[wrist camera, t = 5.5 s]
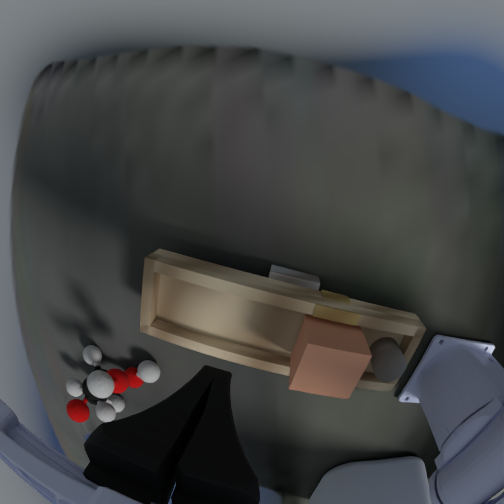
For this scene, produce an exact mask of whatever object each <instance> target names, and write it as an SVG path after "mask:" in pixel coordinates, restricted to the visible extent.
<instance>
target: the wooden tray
mask: <svg viewBox="0 0 504 504" xmlns="http://www.w3.org/2000/svg"><path fill="white" fill-rule="evenodd" d="M319 287H320V280H319V276H315V275H311V274H307V273H303V272H300V271H296V270H292V269H288V268H284V267H280V266H276V265H272V266H271V270H270V274H269V278H267V277H263V276H259V275H255V274H251V273H248V272H244V271H240V270H236V269H233V268H229V267H225V266H221V265H218V264H214V263H210V262H207V261H203V260H199V259H196V258H192V257H188V256H185V255H181V254H178V253H174V252H170V251H167V250H163V249H158V250H157V251H155V252H153V253H151V254H150V255H148V256H146V257H145V260H144V271H143V283H142V299H141V320H140V331H141V332H144V333H146V334H149V335H152V336H154V337H157V338H160V339H163V340H165V341H168V342H171V343H174V344H177V345H180V346H183V347H186V348H189V349H192V350H195V351H198V352H201V353H204V354H208V355H211V356H214V357H218V358H221V359H224V360H228V361H231V362H235V363H239V364H242V365H246V366H250V367H254V368H258V369H262V370H266V371H270V372H274V373H279V374H283V375H288V376H289V377H290V357H291V353H292V350H293V347H294V345H295V342H296V339H297V337H298V334H299V331H300V328H301V325H302V323H303V320H304V317H305V314H310V315H313V316H314V317H318V318H322V319H327V320H331V321H336V322H340V323H345V324H349V325H354V326H356V325H358V326H361V329H362V331H363V334H364V336H365V339H366V341H367V344H368V347H369V349H370V352H371V354H372V357H371V359H370V361H369V363H368V365H367V367H366V369H365V370H364V372H363V374H362V376H361V378H360V379H359V381H358V383H357V385H356V387H355V388H362V389H370V390H378V391H387V392H391V391H392V390H393V388H394V387H395V385H396V383H397V382H398V380H399V378H400V377H401V375H402V374H403V373H404V372H405V370H406V368H407V365H408V363H409V361H410V360H411V358H412V356H413V354H414V352H415V350H416V349H417V347H418V345H419V343H420V341H421V339H422V337H423V335H424V333H425V331H426V329H427V328H426V327H425V326H424V324H423V323H422V322H421V320H420V319H419V318H418V316H417V315H416V314H415V313H411V312H406V311H402V310H397V309H393V308H389V307H384V306H380V305H376V304H372V303H367V302H363V301H359V300H355V299H351V298H349V297H348V296H346V295H342V294H338V293H333V292H329V291H325V290H321V291H318V290H319Z"/></svg>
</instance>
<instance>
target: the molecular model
mask: <svg viewBox="0 0 504 504" xmlns="http://www.w3.org/2000/svg"><path fill="white" fill-rule="evenodd" d="M83 358H84V360H85V361H86V362H87V363H88V364H90V365H94V368H95V371H93V372H92V373H91V374H90V375H89V376H88V378H86V379H85V380H84V382H83V384H82V383H81V382H80V381H79V380H77V379H73V378H72V379H70V380H68V381H67V384H66V389H67V391H68V393H69V394H70V395H72V396H74V397H78V396H80V395H81V394H82V393H83V394H85V398H84V399H83V401H81V400H79V399H73V400H71V401H69V403H68V404H67V413H68V415H69V417H70V418H71V419H72V420H74V421H76V422H84V421H86V420H87V419H88V418H89V414H90V412H89V408H88V406H87V405H86V403H87V401H88V402H90V403H91V404H94V405H97V404H98V405H97V407H96V415H97V416H98V418H99V419H100V420H102V421H104V422H110V421H112V420H114V418H115V416H116V412H121V411H122V410H123V409H124V407H125V403H124V400H123V399H122V398H121V397H120V396H118V395H111V394H112V393H122V392H124V391H125V390H126V389H127V387H128V386H129V387H131V388H138V387H140V386H141V385H142V384H143V382H144V381H145V382H148V383H152V382H155V381H156V380H157V379H158V378H159V376H160V369H159V366H158V365H157V364H156V363H155V362H153V361H150V360H145V361H143V362H141V363H140V364H139V366H138V368H135V367H130V368H128V369H127V370H125V372H123V371H122V370H120V369H110V370H109V371H107V370H104V369H101V366H100V364H99V363H100V362H101V359H102V353H101V351H100V349H99V348H98V347H96V346H94V345H89V346H87V347H85V349H84V351H83ZM110 395H111V396H110ZM109 396H110V397H109ZM108 397H109V398H108Z"/></svg>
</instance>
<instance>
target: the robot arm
mask: <svg viewBox="0 0 504 504" xmlns="http://www.w3.org/2000/svg"><path fill="white" fill-rule="evenodd" d="M440 340H442V341H441V342H440ZM494 348H495V346H494V345H493V344H491V343H484V342H478V341H472V340H466V339H460V338H454V337H448V336H443V335H436V336H434V337H433V339H432V341H431V342H430V344H429V346H428V348H427V350H426V352H425V354H424V355H423V357H422V359H421V361H420V363H419V364H418V366H417V368H416V369H415V371H414V373H413V374H412V376H411V378H410V379H409V381H408V383H407V384H406V386H405V387H404V389H403V390H402V392H401V393H400V395H399V397H398V400H399V401H400V402H412V403H420V404H421V406H422V409H423V411H424V413H425V416H426V418H427V420H428V423H429V425H430V428H431V430H432V433H433V435H434V438H435V440H436V443H437V445H438V448H439V451H440V454H439V456H438V457H437V458H436V459H435V463H436V466H437V470H436V471H435V472H434V473H433V474H432V476H431V479H430V483H429V494H430V499H431V502H432V504H504V492H503V493H502V494H501V495H500V496H498V497H497V498H495V499H493V500H489V499H491V498H492V497H493V496H494V495H496V494H497V493H498V492H500V491H501V490H502V489H503V488H504V369H503V368H502V366H501V365H500V364H499V363H498V362H497V361H496V359H495V358H494V357H493V356H492V355H491V354H492V352H493V350H494ZM231 377H232V374H231V373H230V372H228V371H224V370H221V369H217V368H214V367H211V366H207V365H205V366H203V367H202V369H201V370H200V371H199V372H198V373H197V374H196V375H195V376H194V377H193V378H192V379H191V380H190V381H189V382H187V383H186V384H185V385H184V386H183V387H182V388H180V389H179V390H178V391H176V392H175V393H174V394H172V395H171V396H169V397H168V398H166V399H165V400H163V401H162V402H160V403H158V404H156V405H154V406H153V407H151V408H148V409H146V410H144V411H142V412H140V413H137V414H135V415H132V416H129V417H126V418H123V419H120V420H116V421H111V422H107V423H102V424H101V425H100V426H98V427H97V428H96V429H95V430H94V431H93V432H92V434H91V435H90V436H89V438H88V439H87V440H86V442H85V443H84V447H85V451H86V453H87V455H88V457H89V460H90V463H89V464H88V466H87V467H86V469H84V468H82V467H80V466H79V465H77V464H76V463H74V462H72V461H71V460H69V459H68V458H66V457H65V456H63V455H62V454H60V453H59V452H57V451H56V450H54V449H53V448H52V447H50V446H49V445H48V444H46V443H45V442H44V441H42V440H41V439H39V438H38V437H37V436H36V435H34V434H33V433H32V432H31V431H29V430H28V429H27V428H26V427H25V426H23V425H22V424H21V423H20V422H19V421H18V419H17V416H16V415H15V413H14V412H13V411H12V410H11V409H10V408H9V407H8V406H7V405H6V404H5V403H4V402H3V401H2V400H1V399H0V458H1V459H2V460H3V461H4V462H5V463H6V464H7V465H8V466H9V467H10V468H11V469H12V470H13V471H14V472H15V473H16V474H17V475H19V476H20V477H21V478H22V479H23V480H24V481H25V482H27V483H28V484H29V485H30V486H31V487H32V488H34V489H35V490H36V491H37V492H38V493H40V494H41V495H42V496H44V497H45V498H46V499H47V500H49V501H50V502H52V503H53V504H168V502H169V499H170V496H171V493H172V491H173V488H174V485H175V482H176V487H175V489H174V491H173V494H172V496H171V499H172V504H259V501H260V492H259V491H260V490H259V484H258V480H257V477H256V475H255V473H254V472H253V470H252V468H251V466H250V465H249V463H248V461H247V459H246V457H245V454H244V452H243V449H242V447H241V444H240V442H239V439H238V436H237V433H236V429H235V425H234V421H233V415H232V409H231V400H230V382H231Z"/></svg>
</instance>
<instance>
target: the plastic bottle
mask: <svg viewBox="0 0 504 504" xmlns="http://www.w3.org/2000/svg"><path fill="white" fill-rule="evenodd" d="M309 504H431V499H430V494H429V486H428V480H427V475H426V470H425V465H424V462H423V461H422V460H421V459H420V458H418V457H414V456H406V457H399V458H391V459H381V460H370V461H356V462H350V463H346V464H343V465H340V466H337V467H335V468H333V469H331V470H330V471H328V472H327V473H326V474H325V475H324V476H323V477H322V479H321V481H320V483H319V484H318V486H317V487H316V489H315V491H314V492H313V494H312V496H311V497H310V500H309Z"/></svg>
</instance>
